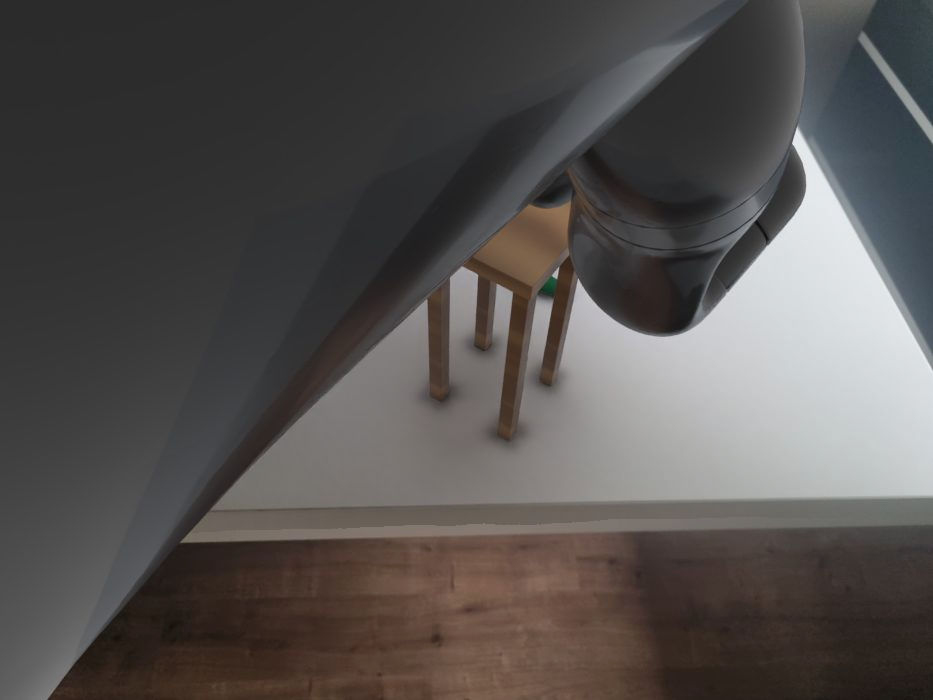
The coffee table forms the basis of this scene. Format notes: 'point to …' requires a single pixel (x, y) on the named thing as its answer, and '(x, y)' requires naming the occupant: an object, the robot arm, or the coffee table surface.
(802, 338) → the coffee table surface
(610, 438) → the coffee table surface
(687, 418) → the coffee table surface
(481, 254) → the stool
